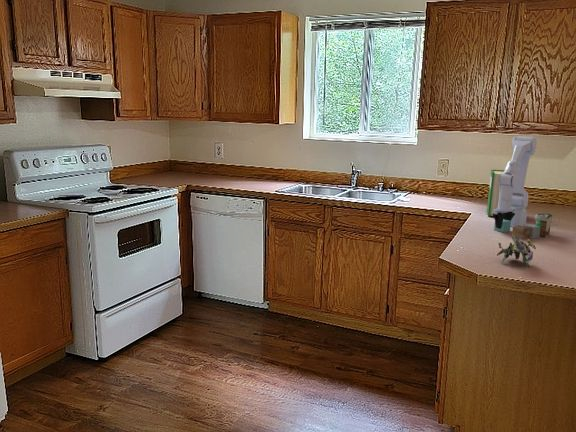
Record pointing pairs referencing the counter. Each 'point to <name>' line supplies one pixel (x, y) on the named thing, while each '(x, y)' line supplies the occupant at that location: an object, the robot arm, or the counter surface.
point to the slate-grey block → (534, 231)
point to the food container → (543, 223)
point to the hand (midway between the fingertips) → (502, 227)
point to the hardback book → (493, 191)
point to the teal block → (504, 226)
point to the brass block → (521, 232)
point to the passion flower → (519, 250)
